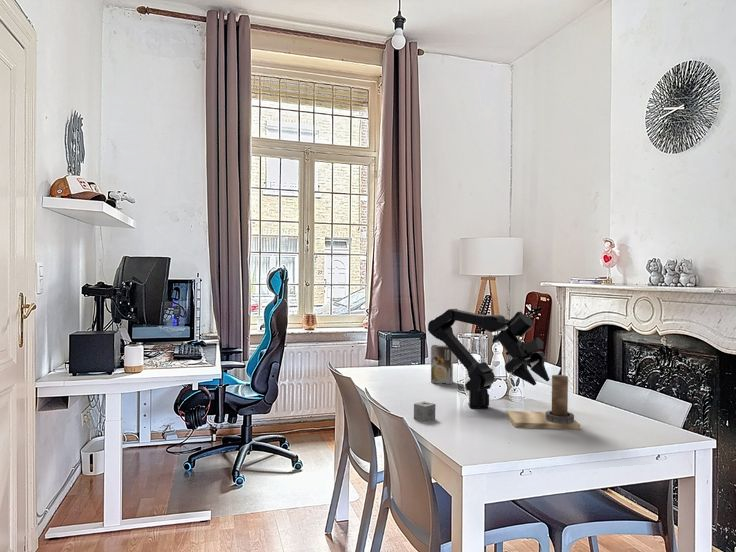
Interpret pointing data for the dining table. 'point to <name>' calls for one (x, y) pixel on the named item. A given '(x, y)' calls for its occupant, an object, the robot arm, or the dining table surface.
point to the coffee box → (441, 364)
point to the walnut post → (560, 395)
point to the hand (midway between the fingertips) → (542, 382)
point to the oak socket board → (541, 420)
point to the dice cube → (424, 411)
